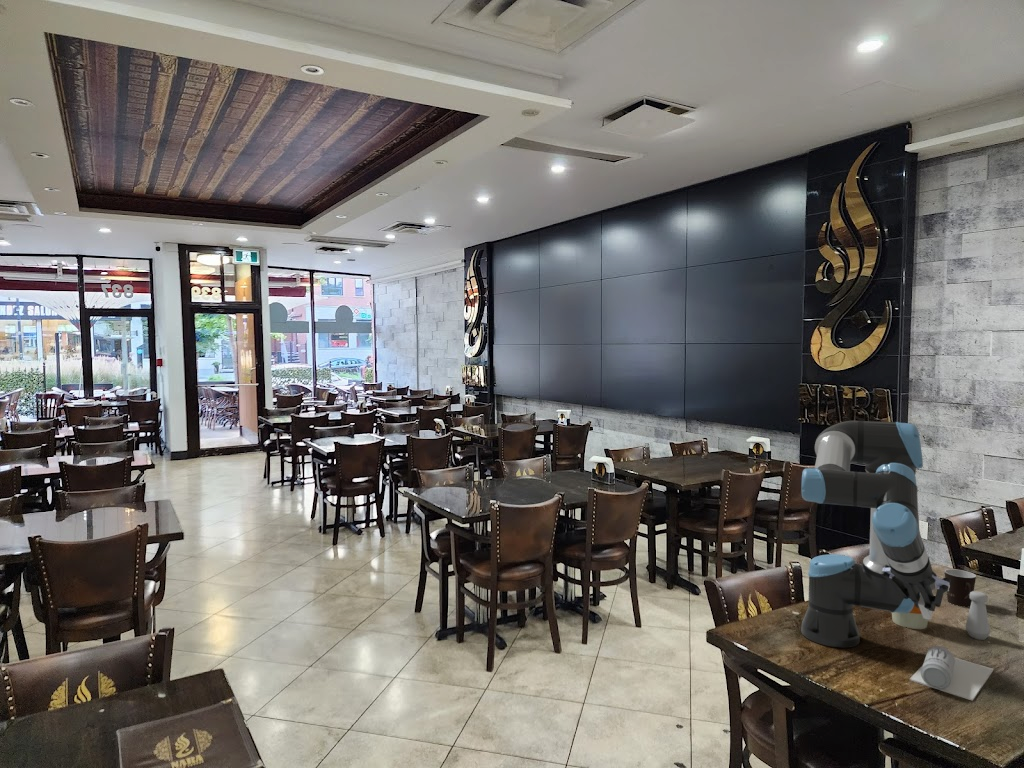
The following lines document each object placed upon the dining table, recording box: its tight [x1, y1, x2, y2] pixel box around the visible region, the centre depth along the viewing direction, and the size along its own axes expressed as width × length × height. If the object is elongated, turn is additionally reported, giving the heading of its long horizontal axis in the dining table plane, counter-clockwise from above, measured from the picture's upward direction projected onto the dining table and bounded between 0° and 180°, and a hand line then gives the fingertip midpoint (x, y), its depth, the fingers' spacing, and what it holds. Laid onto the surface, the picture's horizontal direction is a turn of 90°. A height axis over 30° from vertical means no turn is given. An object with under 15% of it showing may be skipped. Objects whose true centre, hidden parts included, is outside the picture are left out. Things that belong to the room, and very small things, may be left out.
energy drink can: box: [921, 645, 956, 690], centre depth 159 cm, size 6×6×15 cm
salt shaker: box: [965, 590, 991, 641], centre depth 183 cm, size 6×6×13 cm
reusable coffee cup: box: [891, 583, 936, 630], centre depth 193 cm, size 13×13×15 cm
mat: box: [909, 656, 994, 701], centre depth 161 cm, size 22×13×1 cm, turn 132°
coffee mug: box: [944, 568, 977, 608], centre depth 208 cm, size 12×9×10 cm
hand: (928, 613), depth 145 cm, fingers closed
